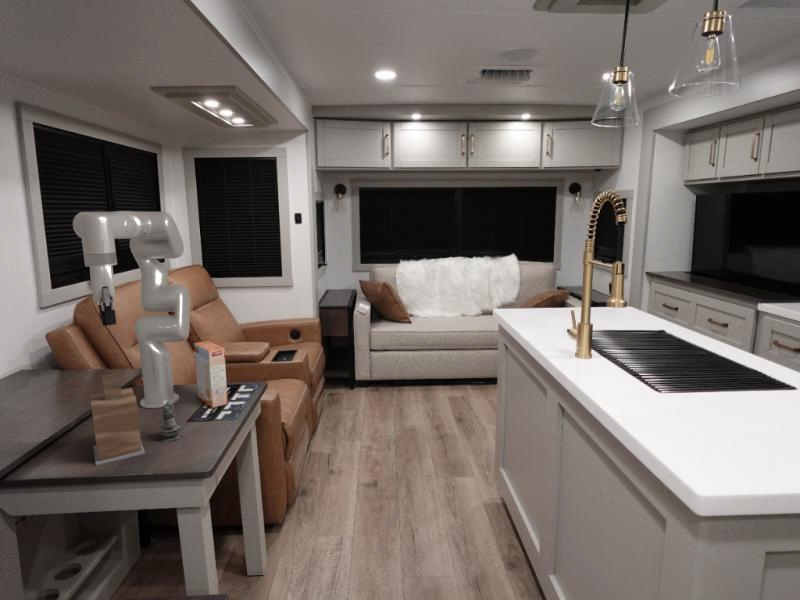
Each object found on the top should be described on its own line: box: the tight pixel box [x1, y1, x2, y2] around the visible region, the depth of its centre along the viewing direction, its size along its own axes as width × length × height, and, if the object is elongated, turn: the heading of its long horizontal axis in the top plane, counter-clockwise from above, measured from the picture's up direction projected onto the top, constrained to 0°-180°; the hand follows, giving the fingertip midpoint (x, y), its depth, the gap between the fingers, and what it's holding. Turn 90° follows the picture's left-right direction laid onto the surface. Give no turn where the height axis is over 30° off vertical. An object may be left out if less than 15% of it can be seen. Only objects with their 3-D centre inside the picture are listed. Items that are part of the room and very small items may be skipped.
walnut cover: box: [89, 372, 142, 461], centre depth 142 cm, size 11×11×22 cm
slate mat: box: [92, 441, 146, 466], centre depth 144 cm, size 12×12×1 cm
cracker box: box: [193, 340, 229, 409], centre depth 178 cm, size 14×6×21 cm, turn 41°
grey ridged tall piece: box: [159, 401, 182, 443], centre depth 150 cm, size 6×6×12 cm
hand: (108, 321), depth 138 cm, fingers open, 9 cm apart
